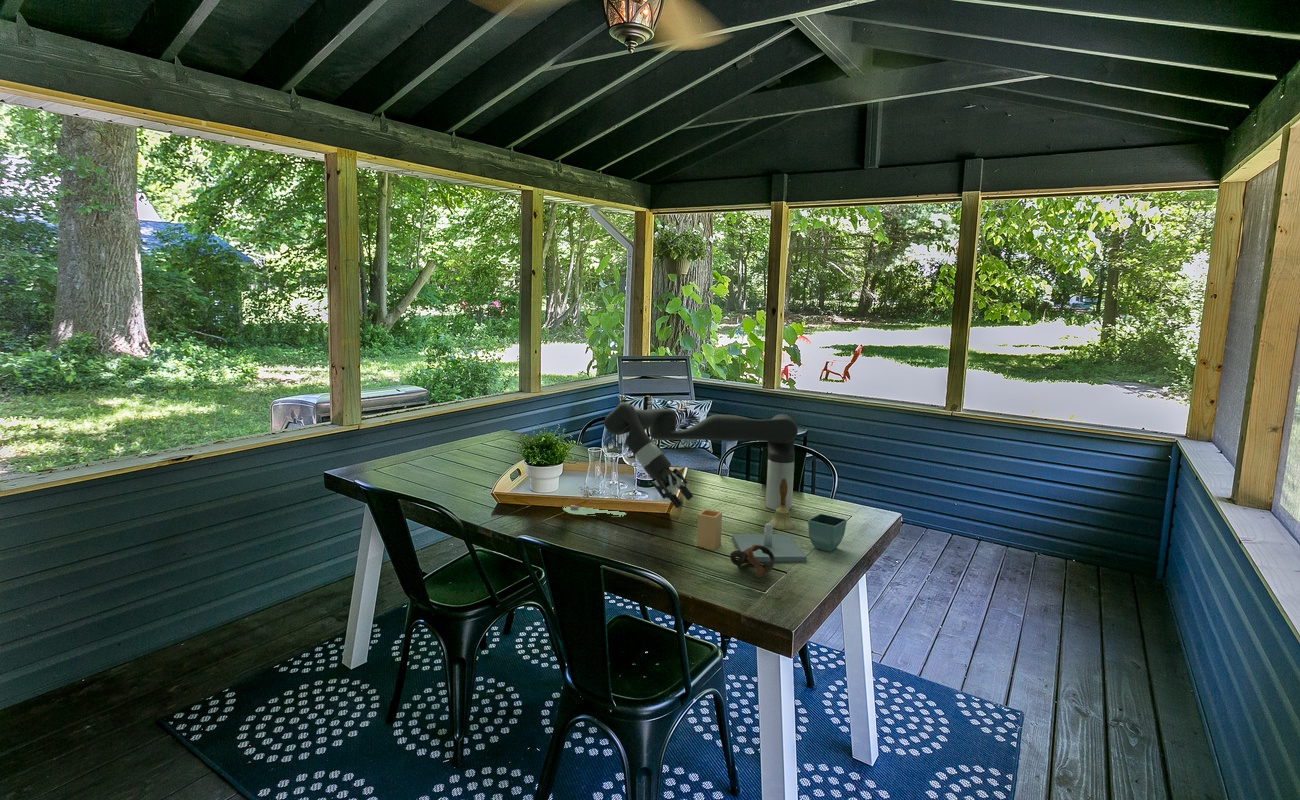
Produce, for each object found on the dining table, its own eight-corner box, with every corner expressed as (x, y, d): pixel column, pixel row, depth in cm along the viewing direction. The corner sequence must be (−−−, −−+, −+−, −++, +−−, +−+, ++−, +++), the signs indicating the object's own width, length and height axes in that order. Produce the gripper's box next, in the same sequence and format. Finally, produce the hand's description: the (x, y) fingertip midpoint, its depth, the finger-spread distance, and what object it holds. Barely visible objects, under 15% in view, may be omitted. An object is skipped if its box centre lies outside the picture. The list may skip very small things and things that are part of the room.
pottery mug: (761, 563, 189) (774, 544, 184) (767, 590, 181) (780, 571, 177) (722, 555, 186) (734, 535, 182) (727, 582, 178) (739, 562, 174)
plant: (640, 505, 238) (641, 481, 237) (616, 523, 219) (616, 497, 218) (579, 496, 248) (579, 472, 246) (550, 512, 229) (550, 487, 227)
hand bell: (794, 530, 214) (797, 483, 212) (768, 528, 216) (771, 481, 213) (794, 522, 222) (797, 476, 220) (769, 520, 224) (771, 474, 221)
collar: (696, 546, 199) (697, 514, 198) (703, 540, 204) (704, 509, 202) (714, 549, 197) (715, 517, 195) (720, 543, 202) (722, 512, 200)
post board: (731, 538, 206) (733, 513, 205) (788, 538, 207) (790, 513, 206) (744, 562, 188) (745, 534, 187) (806, 561, 190) (808, 534, 188)
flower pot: (818, 540, 206) (820, 512, 205) (845, 547, 201) (847, 519, 199) (805, 548, 199) (807, 519, 198) (833, 556, 194) (835, 526, 193)
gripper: (654, 462, 212) (686, 502, 209) (634, 472, 200) (667, 516, 197) (670, 448, 209) (702, 489, 206) (650, 458, 196) (684, 501, 193)
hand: (685, 502), depth 201 cm, fingers open, 8 cm apart
